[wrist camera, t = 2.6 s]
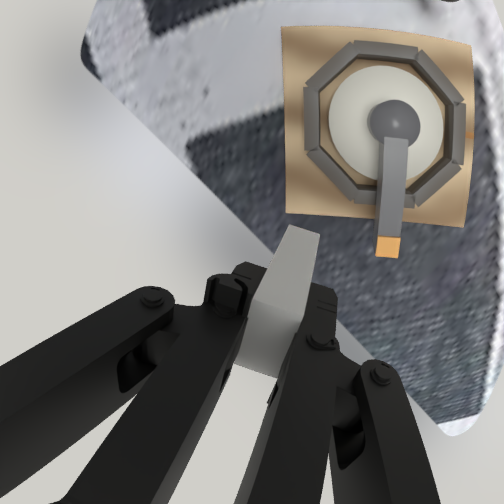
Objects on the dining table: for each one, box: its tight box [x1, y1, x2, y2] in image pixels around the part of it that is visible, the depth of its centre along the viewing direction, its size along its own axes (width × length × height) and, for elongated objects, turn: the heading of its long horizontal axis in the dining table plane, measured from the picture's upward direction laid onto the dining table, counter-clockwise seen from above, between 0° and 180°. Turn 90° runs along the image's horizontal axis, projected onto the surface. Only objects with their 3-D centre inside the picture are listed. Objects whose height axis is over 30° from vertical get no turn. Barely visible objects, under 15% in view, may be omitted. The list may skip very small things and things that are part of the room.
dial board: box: [281, 26, 474, 228], centre depth 24 cm, size 18×18×4 cm
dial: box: [329, 66, 443, 258], centre depth 22 cm, size 15×10×6 cm, turn 2°
